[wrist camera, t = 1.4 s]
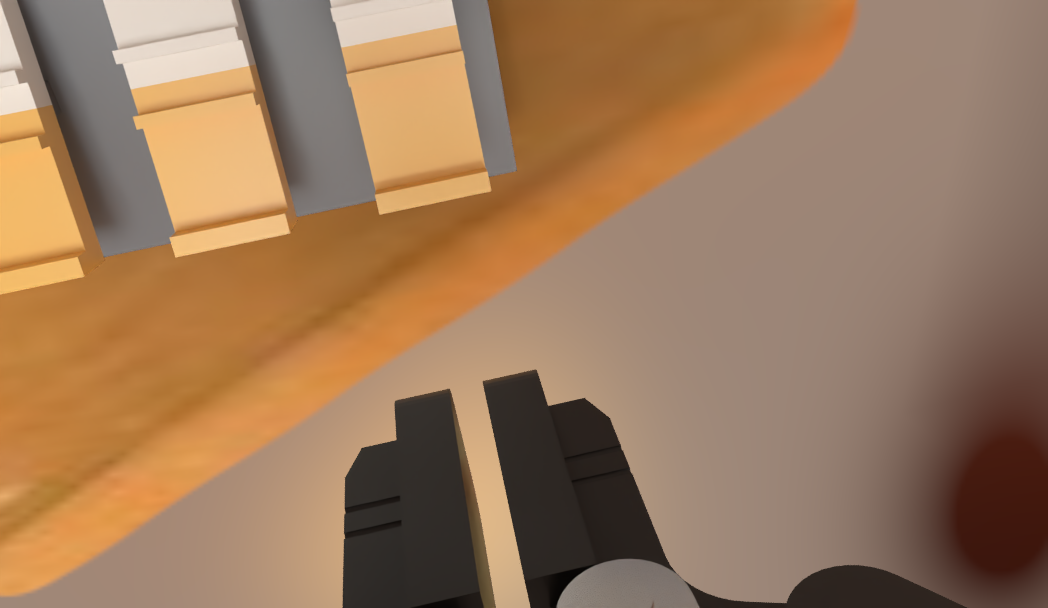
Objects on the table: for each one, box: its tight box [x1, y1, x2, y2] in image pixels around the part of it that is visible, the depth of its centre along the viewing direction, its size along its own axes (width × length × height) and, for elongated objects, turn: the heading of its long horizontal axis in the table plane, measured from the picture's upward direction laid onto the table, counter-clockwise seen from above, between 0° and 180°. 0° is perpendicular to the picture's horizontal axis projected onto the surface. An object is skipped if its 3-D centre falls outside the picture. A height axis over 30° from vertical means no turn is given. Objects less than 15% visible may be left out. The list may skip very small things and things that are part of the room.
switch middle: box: [103, 0, 298, 257], centre depth 22 cm, size 8×3×2 cm, turn 9°
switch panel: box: [17, 0, 517, 257], centre depth 25 cm, size 10×15×5 cm
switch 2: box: [330, 0, 491, 215], centre depth 22 cm, size 8×3×2 cm, turn 9°
